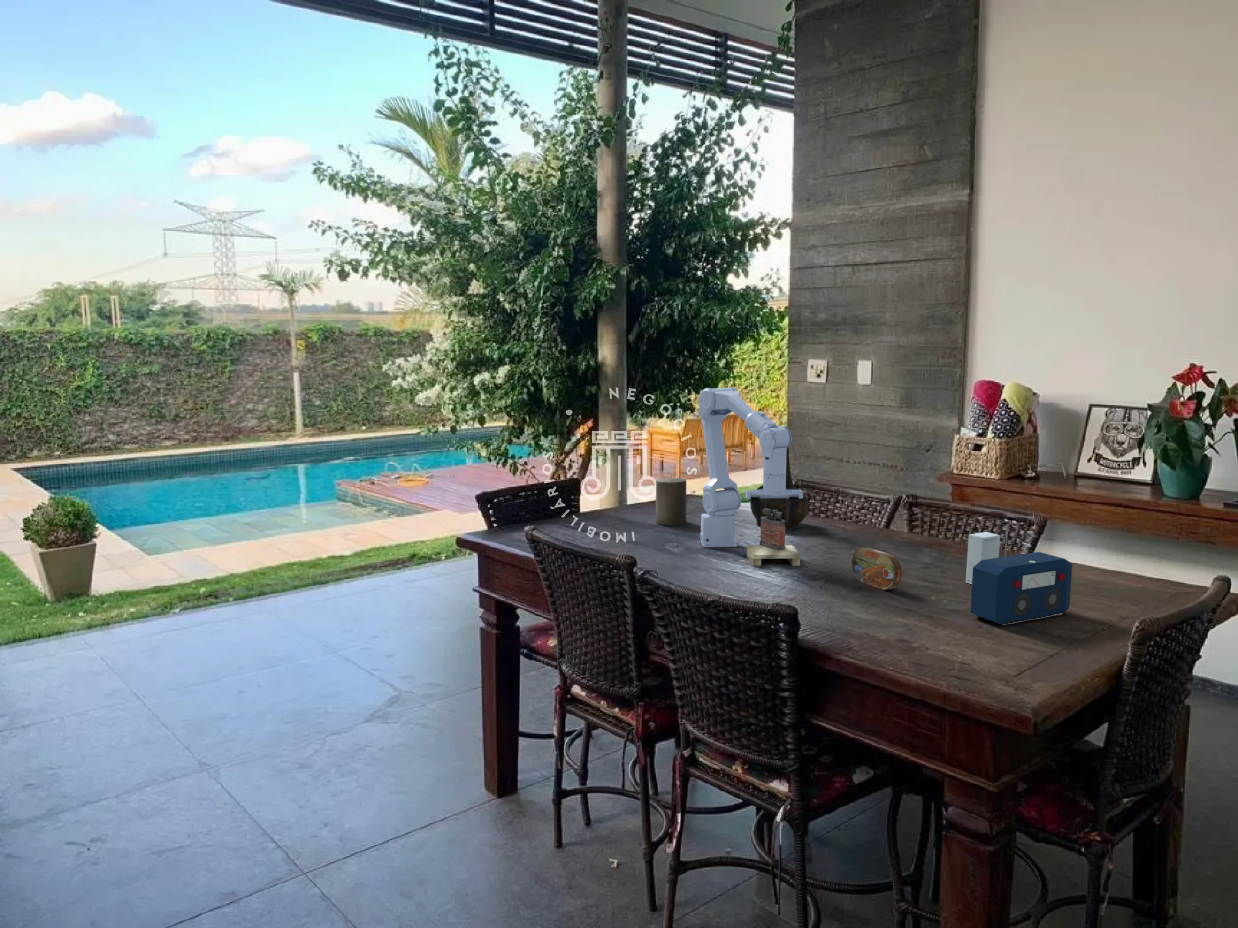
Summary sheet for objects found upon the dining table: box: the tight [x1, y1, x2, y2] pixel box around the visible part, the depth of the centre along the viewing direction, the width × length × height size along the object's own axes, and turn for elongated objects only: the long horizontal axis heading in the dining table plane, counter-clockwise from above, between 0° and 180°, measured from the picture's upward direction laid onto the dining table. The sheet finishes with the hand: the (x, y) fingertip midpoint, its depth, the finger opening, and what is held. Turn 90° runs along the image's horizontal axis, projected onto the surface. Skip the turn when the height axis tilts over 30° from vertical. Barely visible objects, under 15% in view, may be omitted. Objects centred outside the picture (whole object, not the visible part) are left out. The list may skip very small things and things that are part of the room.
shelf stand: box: [746, 544, 801, 567], centre depth 229 cm, size 12×10×3 cm
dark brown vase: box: [749, 442, 810, 529], centre depth 270 cm, size 18×18×28 cm
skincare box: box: [965, 531, 1001, 585], centre depth 206 cm, size 6×4×12 cm
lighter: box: [759, 508, 786, 550], centre depth 231 cm, size 8×3×10 cm, turn 37°
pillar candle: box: [655, 475, 687, 527], centre depth 276 cm, size 10×10×15 cm
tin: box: [851, 547, 903, 591], centre depth 206 cm, size 15×3×8 cm, turn 23°
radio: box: [970, 524, 1073, 625], centre depth 182 cm, size 21×9×20 cm, turn 114°
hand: (773, 525), depth 228 cm, fingers open, 7 cm apart
